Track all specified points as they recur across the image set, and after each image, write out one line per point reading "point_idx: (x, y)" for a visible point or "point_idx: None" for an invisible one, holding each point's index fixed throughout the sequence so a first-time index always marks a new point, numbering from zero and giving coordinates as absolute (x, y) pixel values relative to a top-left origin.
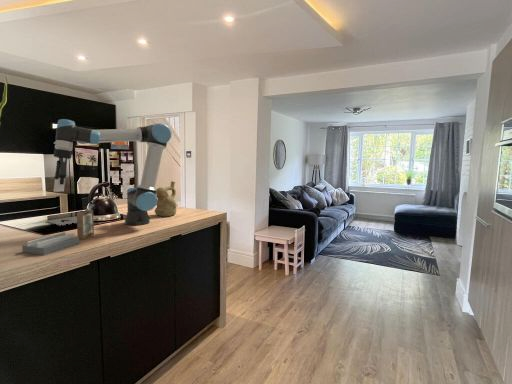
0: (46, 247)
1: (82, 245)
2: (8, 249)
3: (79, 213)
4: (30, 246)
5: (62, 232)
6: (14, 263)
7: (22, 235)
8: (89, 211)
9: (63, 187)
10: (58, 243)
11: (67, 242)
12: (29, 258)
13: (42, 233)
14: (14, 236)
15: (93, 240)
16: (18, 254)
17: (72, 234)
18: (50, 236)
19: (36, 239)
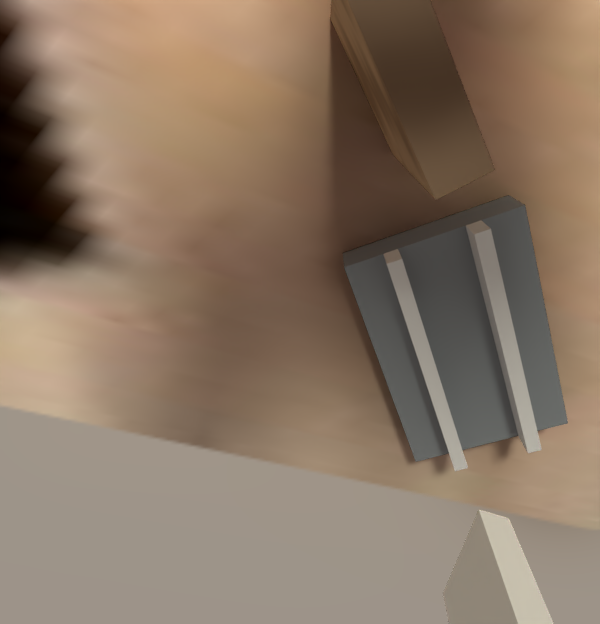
0: (564, 409)
1: (565, 197)
2: (306, 457)
3: (471, 179)
4: (470, 446)
5: (393, 275)
6: (554, 496)
7: (26, 342)
8: (434, 13)
9: (528, 593)
10: (543, 345)
11: (539, 290)
12: None
13: (35, 248)
14: (28, 374)
15: (514, 80)
16: None
17: (493, 242)
18: (433, 359)
19: (449, 431)
